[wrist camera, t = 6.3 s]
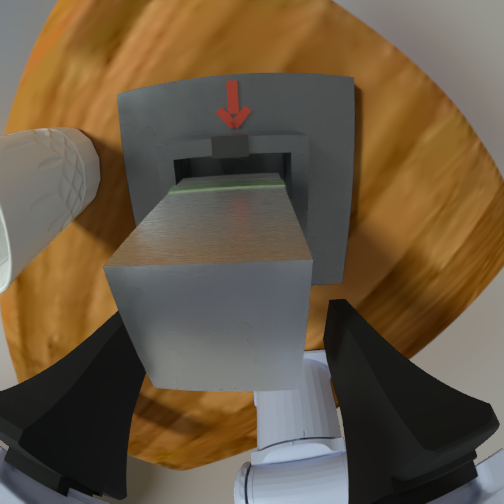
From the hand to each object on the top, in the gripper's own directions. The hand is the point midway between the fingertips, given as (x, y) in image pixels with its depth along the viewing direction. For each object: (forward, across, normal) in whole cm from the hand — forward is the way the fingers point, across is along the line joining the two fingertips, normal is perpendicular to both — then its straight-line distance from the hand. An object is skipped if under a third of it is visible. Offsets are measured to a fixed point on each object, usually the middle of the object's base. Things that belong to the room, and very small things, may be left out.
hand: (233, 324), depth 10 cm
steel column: (+4, 0, -3) cm, 5 cm away
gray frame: (+9, 0, -3) cm, 10 cm away
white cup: (+10, +13, -5) cm, 17 cm away
